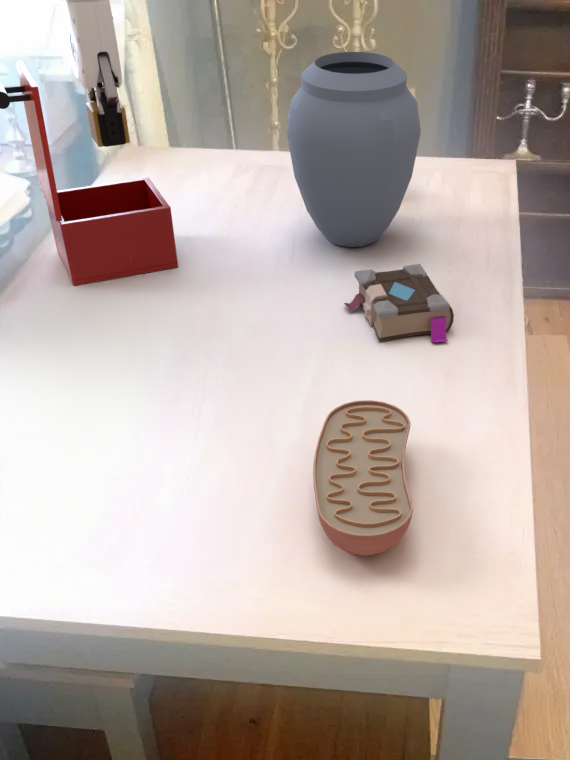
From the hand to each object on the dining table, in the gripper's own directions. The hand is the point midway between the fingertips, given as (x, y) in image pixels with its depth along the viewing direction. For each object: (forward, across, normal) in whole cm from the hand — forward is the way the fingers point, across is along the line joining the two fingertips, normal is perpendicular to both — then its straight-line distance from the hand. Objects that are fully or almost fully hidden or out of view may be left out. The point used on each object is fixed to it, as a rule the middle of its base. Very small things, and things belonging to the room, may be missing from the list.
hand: (110, 137), depth 124 cm
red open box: (+17, 0, -2) cm, 17 cm away
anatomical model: (+17, +68, +8) cm, 70 cm away
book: (+17, +32, +29) cm, 46 cm away
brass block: (0, 0, 0) cm, 0 cm away
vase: (+17, +7, +34) cm, 39 cm away
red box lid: (-1, 0, -9) cm, 9 cm away
